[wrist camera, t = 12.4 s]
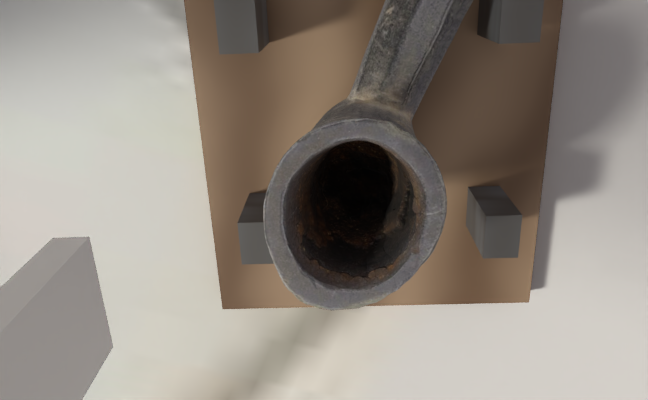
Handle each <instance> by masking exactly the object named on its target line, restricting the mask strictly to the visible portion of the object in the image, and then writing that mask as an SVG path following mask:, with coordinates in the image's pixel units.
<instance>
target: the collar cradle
mask: <svg viewBox="0 0 648 400" xmlns="http://www.w3.org/2000/svg"><path fill="white" fill-rule="evenodd" d="M384 2H385V0H184V4H185V12H186V20H187V28H188V36H189V44H190V52H191V60H192V68H193V76H194V84H195V92H196V100H197V108H198V116H199V124H200V132H201V140H202V148H203V156H204V164H205V172H206V180H207V188H208V195H209V203H210V211H211V219H212V227H213V235H214V243H215V251H216V259H217V267H218V275H219V283H220V291H221V299H222V307H223V309H246V308H291V307H314V306H311V305H306V304H305V303H303V302H300V301H299V300H298V299H297V298H296V297H295V295H294V294H293V293H292V292H290V291H289V290H288V289H287V288H286V287H285V285H284V284H283V282H282V280H281V278H280V276H279V274H278V272H277V269H276V267H275V265H274V263H273V260H272V257H271V255H270V252H269V249H268V246H267V243H266V238H265V234H264V222H263V206H264V200H265V196H266V192H267V189H268V186H269V183H270V180H271V178H272V175H273V173H274V170H275V169H276V167H277V165H278V164H279V162H280V160H281V159H282V157H283V155H284V154H285V153H286V152H287V151H288V150H289V149H290V147H291V146H292V145H293V144H294V143H295V142H297V141H298V140H299V139H300V138H301V137H302V136H304V135H305V134H306V133H308V132H310V131H311V130H312V129H313V128H314V126H315V125H316V124H317V123H318V122H319V120H320V119H321V118H322V117H323V115H324V114H325V113H326V112H327V111H329V110H330V109H331V108H332V107H333V106H335V105H336V104H338V103H339V102H341V101H343V100H344V99H346V98H347V97H348V95H349V94H350V92H351V89H352V87H353V84H354V81H355V79H356V76H357V73H358V70H359V68H360V65H361V62H362V59H363V56H364V53H365V51H366V48H367V46H368V43H369V41H370V38H371V36H372V33H373V31H374V28H375V25H376V23H377V20H378V18H379V15H380V13H381V10H382V8H383V5H384ZM562 5H563V0H473V2H472V4H471V6H470V7H469V9H468V11H467V13H466V14H465V16H464V18H463V20H462V22H461V24H460V26H459V28H458V30H457V32H456V34H455V36H454V38H453V40H452V42H451V44H450V45H449V47H448V49H447V51H446V53H445V55H444V57H443V59H442V61H441V63H440V65H439V66H438V68H437V70H436V72H435V74H434V76H433V78H432V80H431V82H430V84H429V86H428V88H427V90H426V92H425V94H424V96H423V98H422V100H421V102H420V104H419V106H418V108H417V110H416V112H415V114H414V117H413V119H412V126H413V130H414V133H415V136H416V138H417V140H418V141H420V142H421V143H422V144H423V145H424V146H425V147H426V148H427V150H428V151H429V153H430V154H431V155H432V157H433V158H434V160H435V161H436V163H437V165H438V167H439V169H440V172H441V174H442V177H443V181H444V184H445V188H446V196H447V214H446V218H445V223H444V227H443V230H442V233H441V235H440V238H439V240H438V242H437V245H436V247H435V249H434V251H433V252H432V254H431V255H430V256H429V258H428V259H427V261H426V262H425V263H424V264H422V265H421V266H420V268H419V269H418V271H417V272H416V273H415V274H414V275H413V276H412V278H411V279H410V280H409V281H407V282H406V283H405V284H403V285H402V286H401V287H400V288H399V289H398V290H397V291H395V292H393V293H391V294H389V295H388V296H386V297H385V298H384V299H382V300H380V301H378V302H376V303H373V304H369V305H366V306H382V305H428V304H473V303H519V302H529V298H530V289H531V280H532V271H533V263H534V254H535V245H536V236H537V227H538V218H539V209H540V200H541V192H542V183H543V174H544V165H545V156H546V147H547V138H548V130H549V121H550V112H551V103H552V94H553V85H554V76H555V67H556V59H557V50H558V41H559V32H560V23H561V14H562Z"/></svg>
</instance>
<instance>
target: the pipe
mask: <svg viewBox="0 0 648 400" xmlns="http://www.w3.org/2000/svg"><path fill="white" fill-rule="evenodd" d="M472 2H473V0H385V2H384V5H383V8H382V10H381V13H380V15H379V18H378V20H377V23H376V25H375V28H374V31H373V33H372V36H371V38H370V41H369V43H368V46H367V48H366V51H365V53H364V56H363V59H362V62H361V65H360V68H359V70H358V73H357V76H356V79H355V81H354V84H353V87H352V89H351V92H350V94H349V95H348V97H347V98H346V99H344V100H343V101H341V102H339V103H338V104H336V105H335V106H333V107H332V108H331V109H330V110H329V111H327V112H326V113H325V114H324V115H323V117H322V118H321V119H320V120H319V122H318V123H317V124H316V125H315V126H314V128H313V129H312V130H311V131H310V132H308V133H306V134H305V135H304V136H302V137H301V138H300V139H299V140H298V141H297V142H295V143H294V144H293V145H292V146H291V147H290V149H289V150H288V151H287V152H286V153H285V154H284V155H283V157H282V159H281V160H280V162H279V164H278V165H277V167H276V169H275V170H274V173H273V175H272V178H271V180H270V183H269V186H268V189H267V192H266V196H265V200H264V206H263V222H264V234H265V238H266V243H267V246H268V249H269V252H270V255H271V257H272V260H273V263H274V265H275V267H276V269H277V272H278V274H279V276H280V278H281V280H282V282H283V284H284V285H285V287H286V288H287V289H288V290H289V291H290V292H292V293H293V294H294V295H295V297H296V298H297V299H298V300H299V301H300V302H303V303H305V304H306V305H311V306H314V307H317V308H320V309H326V310H343V309H355V308H360V307H363V306H366V305H369V304H373V303H376V302H378V301H380V300H382V299H384V298H385V297H386V296H388V295H389V294H391V293H393V292H395V291H397V290H398V289H399V288H400V287H401V286H402V285H403V284H405V283H406V282H407V281H409V280H410V279H411V278H412V276H413V275H414V274H415V273H416V272H417V271H418V269H419V268H420V266H421V265H422V264H424V263H425V262H426V261H427V259H428V258H429V256H430V255H431V254H432V252H433V251H434V249H435V247H436V245H437V242H438V240H439V238H440V235H441V233H442V230H443V227H444V223H445V218H446V214H447V196H446V188H445V184H444V181H443V177H442V174H441V172H440V169H439V167H438V165H437V163H436V161H435V160H434V158H433V157H432V155H431V154H430V153H429V151H428V150H427V148H426V147H425V146H424V145H423V144H422V143H421V142H420V141H418V140H417V138H416V136H415V133H414V130H413V126H412V119H413V117H414V114H415V112H416V110H417V108H418V106H419V104H420V102H421V100H422V98H423V96H424V94H425V92H426V90H427V88H428V86H429V84H430V82H431V80H432V78H433V76H434V74H435V72H436V70H437V68H438V66H439V65H440V63H441V61H442V59H443V57H444V55H445V53H446V51H447V49H448V47H449V45H450V44H451V42H452V40H453V38H454V36H455V34H456V32H457V30H458V28H459V26H460V24H461V22H462V20H463V18H464V16H465V14H466V13H467V11H468V9H469V7H470V6H471V4H472Z"/></svg>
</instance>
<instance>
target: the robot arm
mask: <svg viewBox="0 0 648 400" xmlns="http://www.w3.org/2000/svg"><path fill="white" fill-rule="evenodd" d="M112 348H113V344H112V339H111V335H110V330H109V326H108V321H107V316H106V312H105V307H104V303H103V298H102V293H101V289H100V284H99V280H98V275H97V270H96V266H95V261H94V257H93V252H92V247H91V243H90V238H89V237H70V238H52V239H51V240H50V241H49V242H48V243H47V244H46V245H45V246H44V247H43V248H42V249H41V250H40V251H39V252H38V253H37V254H35V255H34V256H33V257H32V258H31V259H30V260H29V261H28V262H27V263H26V264H25V265H24V266H23V267H22V268H21V269H20V270H18V271H17V272H16V273H15V274H14V275H13V276H12V277H11V278H10V279H9V280H8V281H7V282H6V283H5V284H4V285H3V286H2V287H0V400H82V399H83V397H84V395H85V394H86V392H87V390H88V389H89V387H90V385H91V384H92V382H93V380H94V378H95V377H96V375H97V373H98V372H99V370H100V368H101V366H102V365H103V363H104V361H105V360H106V358H107V356H108V355H109V353H110V351H111V349H112Z"/></svg>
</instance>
